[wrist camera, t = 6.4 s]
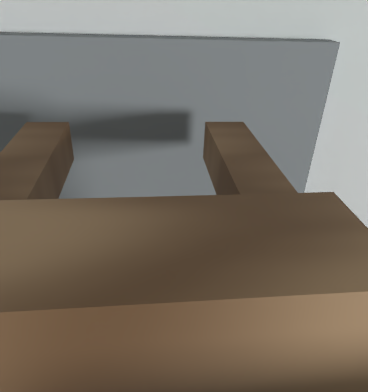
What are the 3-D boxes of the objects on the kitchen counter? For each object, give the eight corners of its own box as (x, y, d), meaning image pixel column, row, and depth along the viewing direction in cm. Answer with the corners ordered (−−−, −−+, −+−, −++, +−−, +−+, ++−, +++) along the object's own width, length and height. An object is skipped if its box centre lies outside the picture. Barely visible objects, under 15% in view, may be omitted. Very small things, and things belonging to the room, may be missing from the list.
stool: (256, 110, 9) (424, 287, 4) (226, 321, 13) (284, 551, 8) (10, 109, 8) (-223, 324, 3) (60, 332, 12) (-1, 590, 7)
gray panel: (269, 307, 16) (273, 318, 15) (11, 323, 14) (6, 336, 14) (329, 39, 10) (339, 42, 9) (-86, 30, 9) (-100, 33, 8)
